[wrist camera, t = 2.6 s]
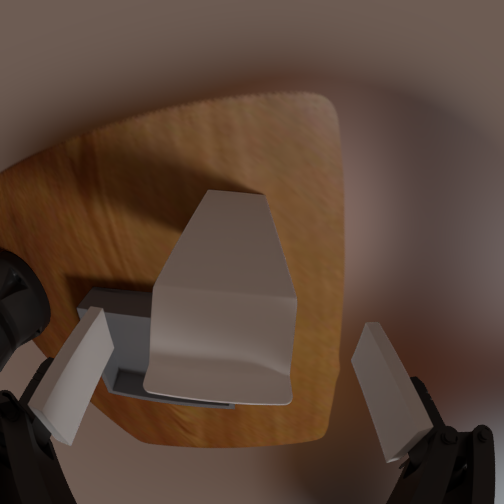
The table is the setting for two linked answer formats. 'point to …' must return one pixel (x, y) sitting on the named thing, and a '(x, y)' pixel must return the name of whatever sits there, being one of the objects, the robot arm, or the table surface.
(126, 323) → the bin
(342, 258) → the table surface
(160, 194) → the table surface
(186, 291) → the milk
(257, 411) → the table surface
